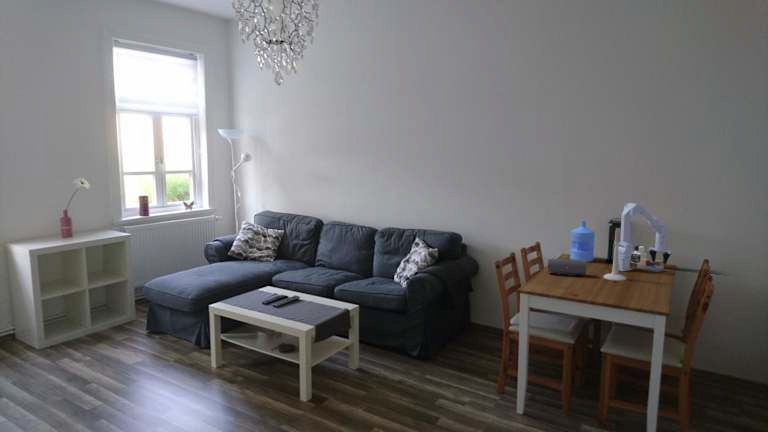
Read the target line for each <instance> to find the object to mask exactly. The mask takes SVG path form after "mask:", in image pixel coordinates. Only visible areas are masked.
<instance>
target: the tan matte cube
mask: <svg viewBox="0 0 768 432" xmlns="http://www.w3.org/2000/svg"><path fill="white" fill-rule="evenodd" d="M653 265H656V266H661V267H664V265H665V264H663V259H662V260H661V259H656V260H655V262H653ZM664 268H665V267H664Z"/></svg>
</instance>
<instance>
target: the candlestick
mask: <svg viewBox="0 0 768 432" xmlns="http://www.w3.org/2000/svg"><path fill="white" fill-rule="evenodd" d="M614 234H615V237H614V240H613V244H614V252H613V261H612V269H611V273H606V274H604V275H603V278H604V279H605V280H609V281H616V282H620V281H621V282H622V281H626V280H627V277H626V276H625V275H623V274H620V272H619V270H618V245H619V242H620V241H619V240H620V239H619V237H620V230H615V233H614Z"/></svg>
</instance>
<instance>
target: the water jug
mask: <svg viewBox="0 0 768 432" xmlns="http://www.w3.org/2000/svg"><path fill="white" fill-rule="evenodd" d="M586 222H587V221H585V220H580V226H579V227H577V228H574V229H572V230H571V234H570V237H571V238H570V240H571V241H570V242H571V244H570V257H569V259H573V260H583V261H586V263H588V262H593V261H594V260H595V259H594V258H595V257H594V256H595V255H594V253H595V252H594V251H595V235H596V234H595V231H594V230H592V229H590V228H588V227H587V225H586Z"/></svg>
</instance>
